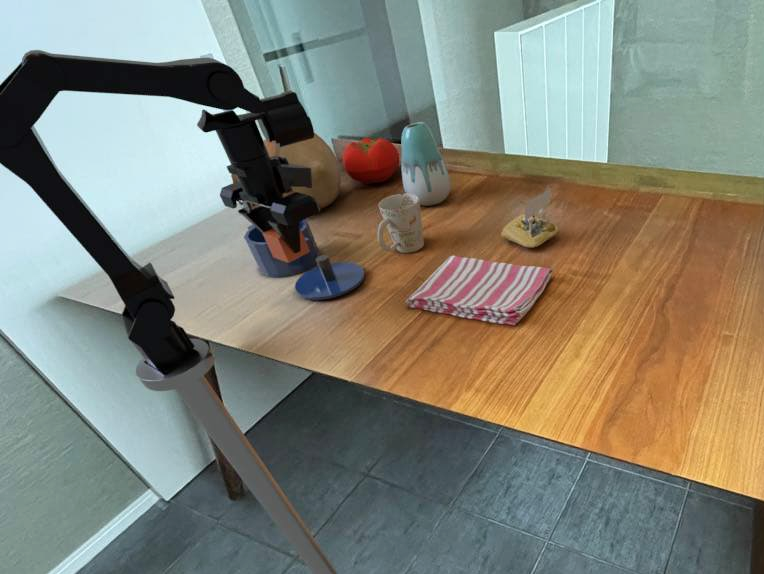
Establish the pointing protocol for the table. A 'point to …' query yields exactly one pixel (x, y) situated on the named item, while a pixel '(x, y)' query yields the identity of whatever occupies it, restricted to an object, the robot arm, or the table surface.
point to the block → (284, 246)
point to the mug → (401, 223)
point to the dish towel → (481, 290)
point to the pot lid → (329, 279)
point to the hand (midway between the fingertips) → (289, 249)
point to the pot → (274, 265)
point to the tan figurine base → (531, 224)
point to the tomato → (371, 160)
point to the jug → (320, 163)
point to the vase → (423, 166)
